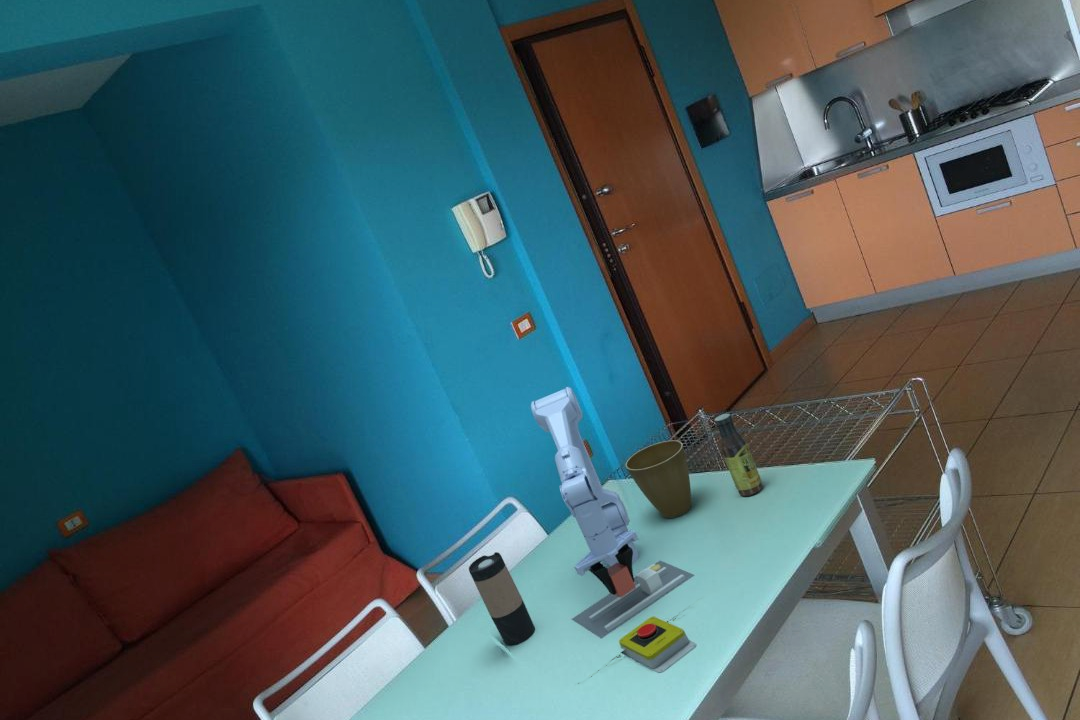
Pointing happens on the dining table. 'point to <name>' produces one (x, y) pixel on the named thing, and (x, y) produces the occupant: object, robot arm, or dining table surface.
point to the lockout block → (621, 579)
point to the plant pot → (663, 477)
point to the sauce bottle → (738, 457)
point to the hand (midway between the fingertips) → (622, 587)
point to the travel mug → (502, 599)
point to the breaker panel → (629, 601)
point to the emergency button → (656, 644)
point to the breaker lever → (649, 581)
